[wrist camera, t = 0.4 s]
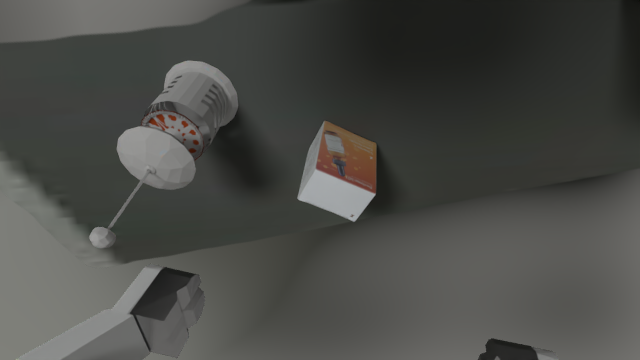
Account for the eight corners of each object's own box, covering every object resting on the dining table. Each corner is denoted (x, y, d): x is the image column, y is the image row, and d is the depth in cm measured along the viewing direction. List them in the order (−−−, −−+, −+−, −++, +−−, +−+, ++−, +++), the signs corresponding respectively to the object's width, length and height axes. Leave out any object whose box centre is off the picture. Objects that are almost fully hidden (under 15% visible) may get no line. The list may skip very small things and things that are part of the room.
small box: (377, 142, 51) (378, 194, 43) (357, 170, 55) (355, 223, 47) (324, 118, 50) (315, 168, 42) (307, 149, 53) (296, 200, 45)
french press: (242, 72, 47) (155, 220, 28) (233, 146, 54) (160, 301, 35) (162, 50, 46) (17, 187, 27) (165, 128, 53) (53, 277, 34)
